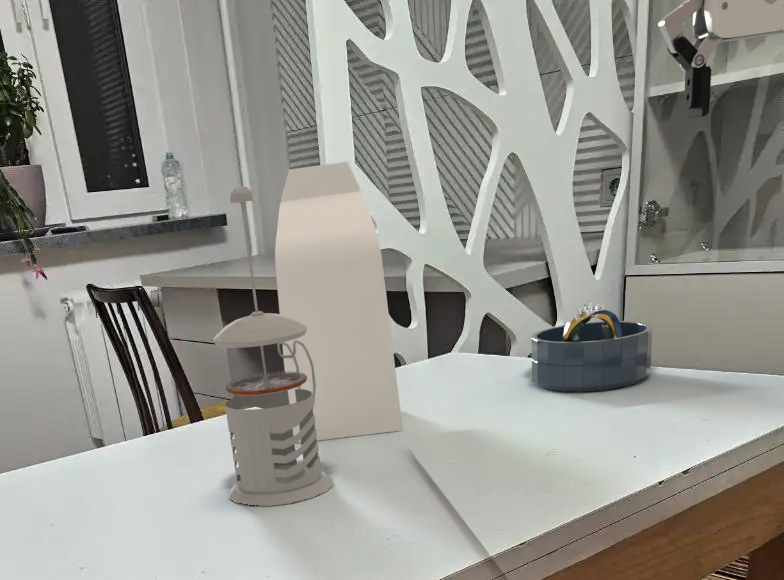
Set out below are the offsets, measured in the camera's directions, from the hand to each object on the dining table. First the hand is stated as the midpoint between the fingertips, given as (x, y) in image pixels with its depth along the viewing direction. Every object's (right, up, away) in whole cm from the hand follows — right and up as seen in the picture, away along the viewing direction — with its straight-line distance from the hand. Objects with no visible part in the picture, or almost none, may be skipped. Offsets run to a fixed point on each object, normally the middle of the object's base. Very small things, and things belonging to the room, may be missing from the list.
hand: (747, 109), depth 86 cm
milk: (-38, -26, +16) cm, 49 cm away
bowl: (-9, -20, +21) cm, 30 cm away
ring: (-8, -19, +20) cm, 30 cm away
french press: (-44, -36, -2) cm, 57 cm away
